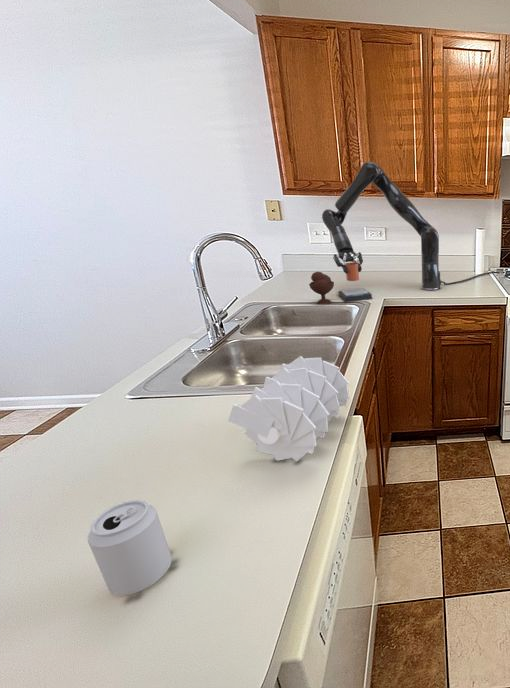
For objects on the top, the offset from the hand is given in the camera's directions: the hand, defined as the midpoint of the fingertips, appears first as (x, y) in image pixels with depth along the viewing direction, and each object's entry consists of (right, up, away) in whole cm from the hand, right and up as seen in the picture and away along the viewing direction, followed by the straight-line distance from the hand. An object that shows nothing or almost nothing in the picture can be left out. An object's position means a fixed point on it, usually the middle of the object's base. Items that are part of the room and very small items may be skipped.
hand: (353, 271), depth 195 cm
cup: (-1, -4, +3) cm, 5 cm away
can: (+11, -66, -134) cm, 150 cm away
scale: (-1, -12, +5) cm, 13 cm away
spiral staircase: (+21, -53, -101) cm, 116 cm away
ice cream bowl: (-13, -16, -4) cm, 21 cm away
